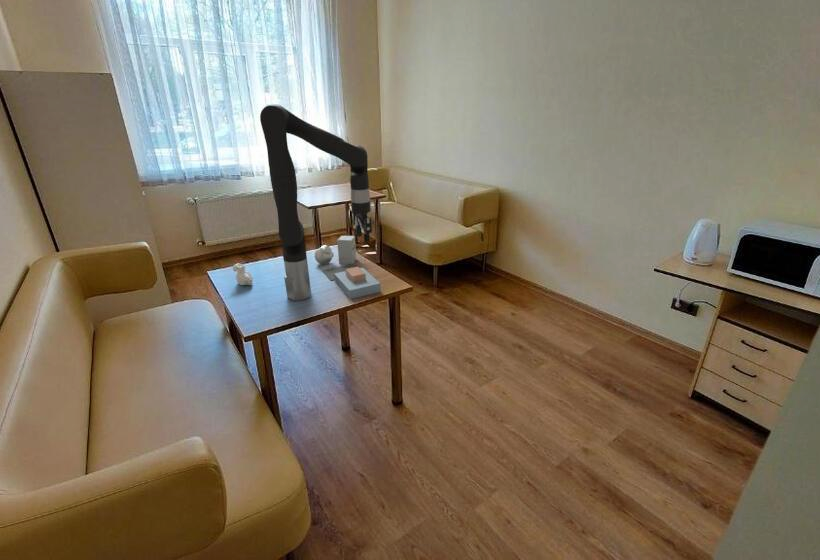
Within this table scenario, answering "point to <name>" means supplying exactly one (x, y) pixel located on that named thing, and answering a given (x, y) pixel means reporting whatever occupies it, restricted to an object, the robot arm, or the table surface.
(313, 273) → the table surface
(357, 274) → the tan rectangular block
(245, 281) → the duck figurine
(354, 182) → the robot arm
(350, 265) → the mat
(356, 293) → the block
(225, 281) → the table surface
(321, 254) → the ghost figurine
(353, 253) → the supplement box
